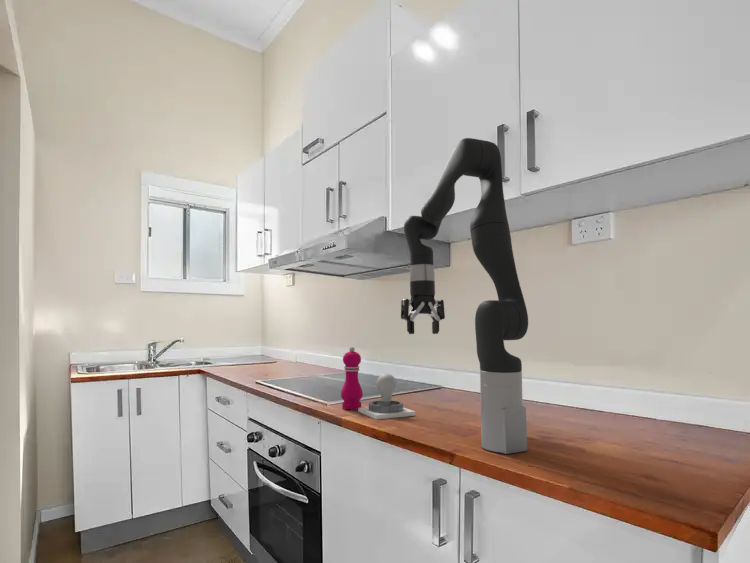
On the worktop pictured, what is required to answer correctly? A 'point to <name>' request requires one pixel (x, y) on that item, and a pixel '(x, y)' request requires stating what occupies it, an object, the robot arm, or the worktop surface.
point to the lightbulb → (386, 388)
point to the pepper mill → (351, 381)
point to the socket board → (386, 415)
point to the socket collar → (385, 407)
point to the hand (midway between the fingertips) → (423, 333)
